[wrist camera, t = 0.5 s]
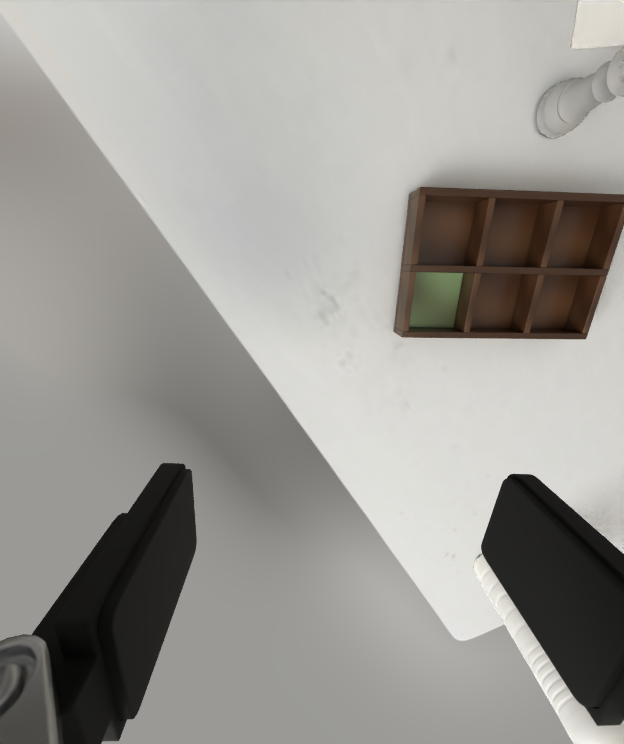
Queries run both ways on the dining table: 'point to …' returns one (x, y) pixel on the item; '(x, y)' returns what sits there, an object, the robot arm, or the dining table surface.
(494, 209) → the tray
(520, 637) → the water bottle
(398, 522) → the dining table surface
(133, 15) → the dining table surface
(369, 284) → the dining table surface
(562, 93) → the rook chess piece
